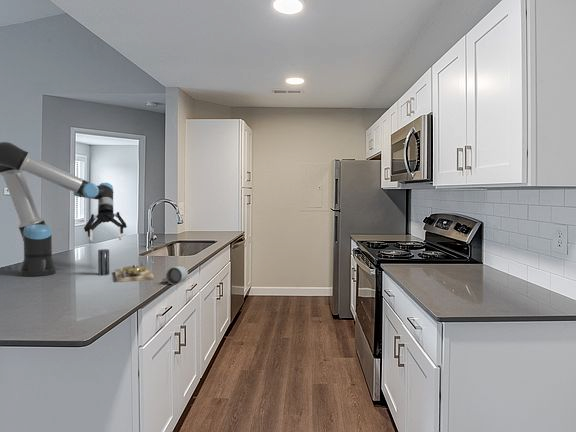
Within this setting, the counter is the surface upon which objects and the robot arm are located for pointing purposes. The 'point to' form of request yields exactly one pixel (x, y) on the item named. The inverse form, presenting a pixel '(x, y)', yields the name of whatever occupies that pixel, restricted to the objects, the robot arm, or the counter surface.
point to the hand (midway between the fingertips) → (105, 239)
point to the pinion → (103, 262)
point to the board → (123, 276)
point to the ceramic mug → (176, 275)
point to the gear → (134, 269)
